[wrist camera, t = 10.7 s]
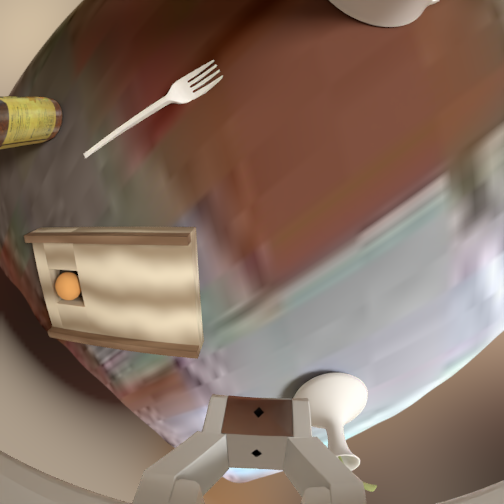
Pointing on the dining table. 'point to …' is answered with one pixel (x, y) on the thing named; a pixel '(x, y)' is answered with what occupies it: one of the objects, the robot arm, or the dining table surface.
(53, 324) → the beige tray
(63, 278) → the ball
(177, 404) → the dining table surface
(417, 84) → the dining table surface
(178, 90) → the fork
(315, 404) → the flower in vase
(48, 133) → the sauce bottle
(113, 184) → the dining table surface
